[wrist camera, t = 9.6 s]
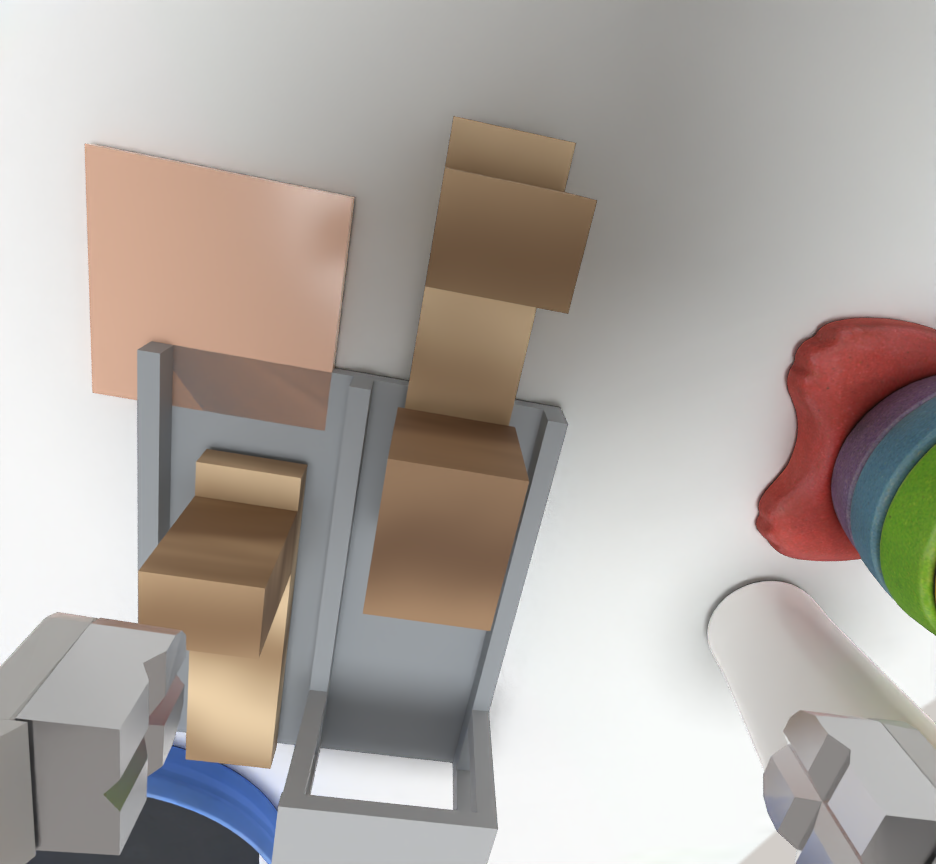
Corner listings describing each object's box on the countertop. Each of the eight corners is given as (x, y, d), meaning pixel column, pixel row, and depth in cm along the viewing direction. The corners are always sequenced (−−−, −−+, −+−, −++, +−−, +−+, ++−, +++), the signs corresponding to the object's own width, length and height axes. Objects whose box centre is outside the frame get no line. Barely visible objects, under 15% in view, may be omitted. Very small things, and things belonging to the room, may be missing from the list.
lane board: (157, 337, 25) (43, 406, 18) (560, 407, 26) (601, 496, 19) (154, 718, 32) (73, 873, 25) (467, 754, 34) (472, 908, 27)
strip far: (206, 448, 26) (138, 531, 20) (307, 464, 26) (268, 550, 20) (194, 738, 32) (139, 865, 26) (276, 747, 32) (239, 874, 26)
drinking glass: (689, 683, 32) (869, 1070, 19) (685, 573, 30) (892, 929, 16) (823, 663, 32) (1106, 1040, 18) (832, 551, 30) (1169, 893, 16)
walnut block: (397, 407, 24) (387, 458, 20) (515, 427, 24) (529, 481, 20) (375, 542, 26) (362, 613, 22) (483, 558, 27) (490, 631, 22)
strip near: (453, 118, 21) (456, 102, 16) (569, 143, 22) (613, 137, 16) (384, 527, 27) (368, 624, 22) (476, 541, 28) (484, 640, 22)
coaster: (93, 144, 22) (84, 143, 21) (354, 196, 23) (352, 197, 22) (100, 387, 25) (92, 392, 25) (327, 425, 26) (324, 431, 26)
